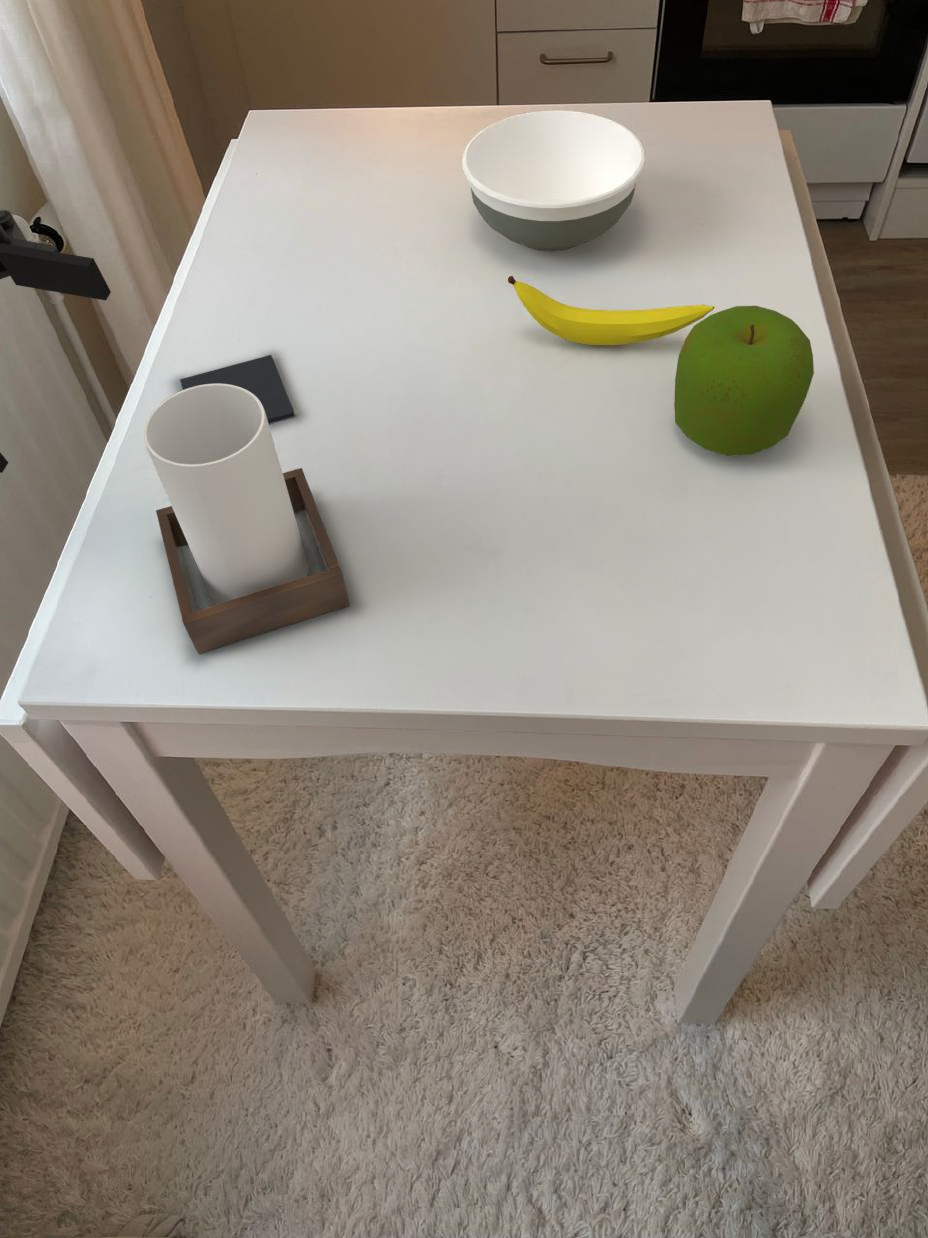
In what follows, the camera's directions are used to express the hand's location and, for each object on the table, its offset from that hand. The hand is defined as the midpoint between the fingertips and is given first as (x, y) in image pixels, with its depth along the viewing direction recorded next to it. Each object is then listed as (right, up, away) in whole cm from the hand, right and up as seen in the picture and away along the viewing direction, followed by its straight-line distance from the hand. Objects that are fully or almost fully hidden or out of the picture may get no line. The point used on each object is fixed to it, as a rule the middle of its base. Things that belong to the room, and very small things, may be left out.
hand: (50, 362), depth 56 cm
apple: (+48, +2, +28) cm, 56 cm away
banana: (+38, +11, +36) cm, 54 cm away
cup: (+8, -12, +21) cm, 25 cm away
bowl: (+34, +27, +48) cm, 65 cm away
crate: (+8, -11, +21) cm, 25 cm away
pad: (+3, +6, +34) cm, 34 cm away
